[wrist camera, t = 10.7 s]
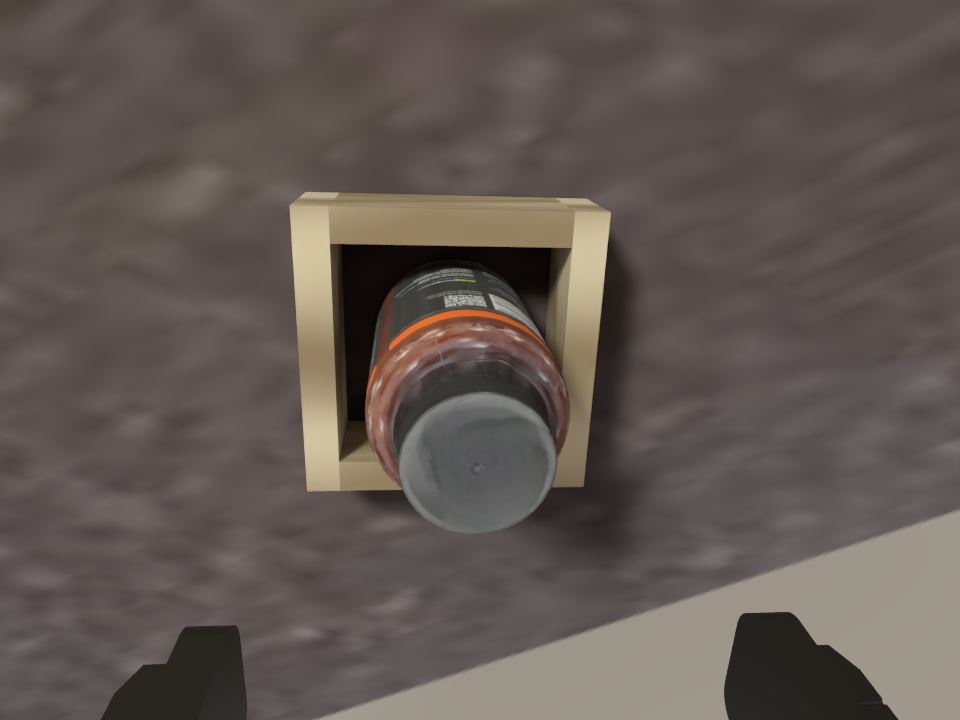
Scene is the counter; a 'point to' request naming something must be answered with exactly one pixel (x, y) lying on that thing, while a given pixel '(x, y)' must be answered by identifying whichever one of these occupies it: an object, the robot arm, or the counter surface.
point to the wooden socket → (437, 222)
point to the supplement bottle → (464, 398)
